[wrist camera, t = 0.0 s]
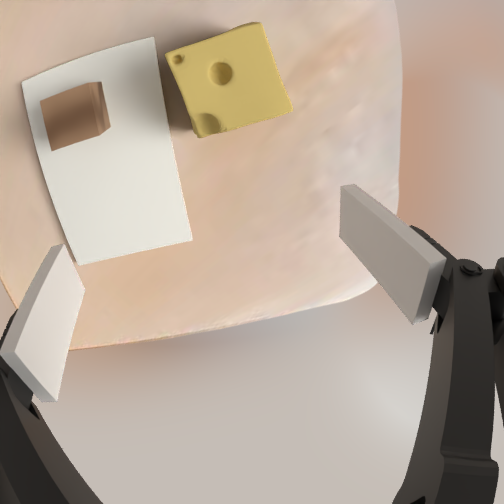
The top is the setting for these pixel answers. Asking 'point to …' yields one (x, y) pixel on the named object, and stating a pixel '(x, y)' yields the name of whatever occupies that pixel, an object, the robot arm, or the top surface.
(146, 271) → the top surface
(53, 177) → the cutting board
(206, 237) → the top surface
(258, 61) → the cheese
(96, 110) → the walnut block
